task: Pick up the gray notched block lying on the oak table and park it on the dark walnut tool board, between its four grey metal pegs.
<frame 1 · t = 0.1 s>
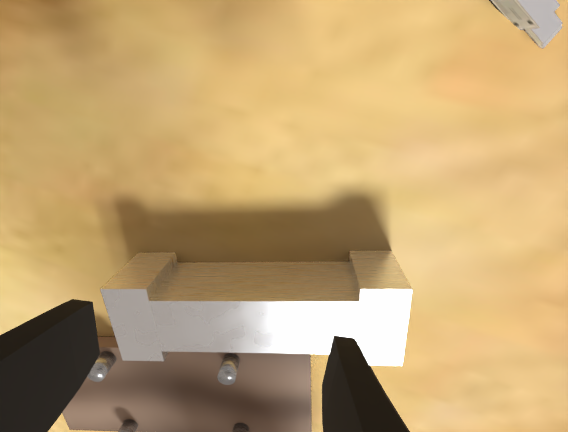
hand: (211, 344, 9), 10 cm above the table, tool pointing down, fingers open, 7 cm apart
gray notched block: (263, 284, 20), on the table
tool board: (182, 382, 24), on the table
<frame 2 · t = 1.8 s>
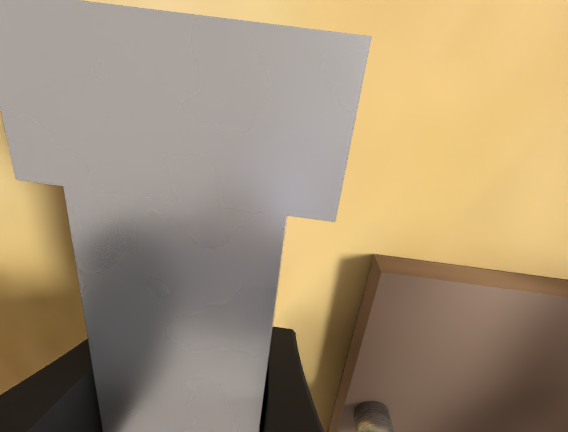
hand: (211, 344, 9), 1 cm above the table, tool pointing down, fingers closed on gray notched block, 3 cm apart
gray notched block: (223, 313, 11), on the table, touching gripper
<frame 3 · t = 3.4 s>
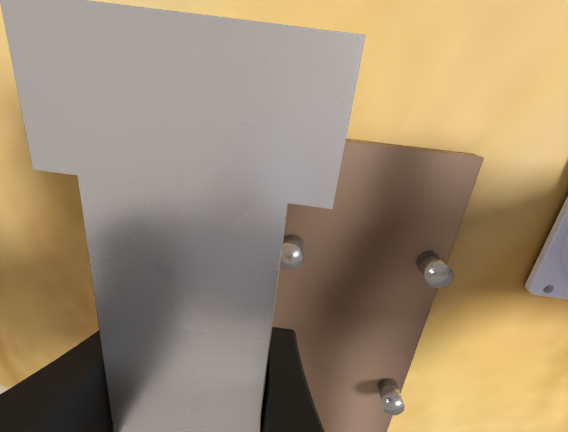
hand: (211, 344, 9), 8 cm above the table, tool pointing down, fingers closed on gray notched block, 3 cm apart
gray notched block: (225, 304, 11), point 7 cm above the table, touching gripper
tool board: (341, 310, 19), on the table
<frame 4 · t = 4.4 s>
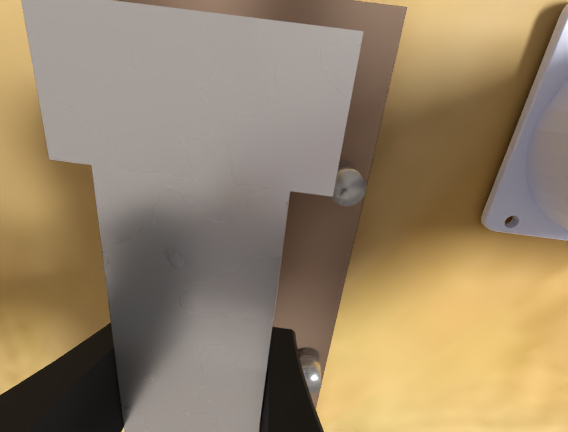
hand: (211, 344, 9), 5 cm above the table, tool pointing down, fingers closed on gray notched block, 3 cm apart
gray notched block: (228, 295, 11), point 3 cm above the table, touching gripper
tool board: (244, 255, 14), on the table
when the fingers open (4 cm above the table, at t = 4.9 s): gray notched block drops 1 cm, resting on tool board.
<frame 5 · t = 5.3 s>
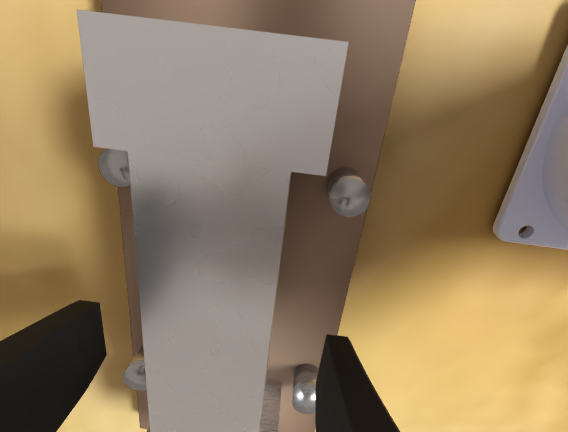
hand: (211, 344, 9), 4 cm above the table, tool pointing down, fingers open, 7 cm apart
gray notched block: (234, 276, 12), point 1 cm above the table, touching tool board
tool board: (240, 267, 13), on the table
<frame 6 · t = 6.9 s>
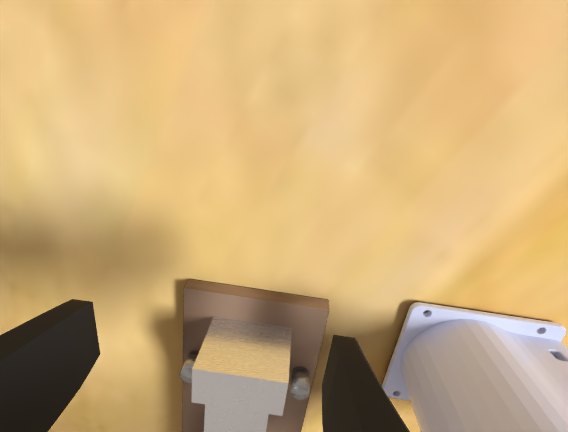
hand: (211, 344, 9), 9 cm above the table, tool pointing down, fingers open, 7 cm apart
gray notched block: (242, 408, 23), point 1 cm above the table, touching tool board
tool board: (245, 397, 24), on the table
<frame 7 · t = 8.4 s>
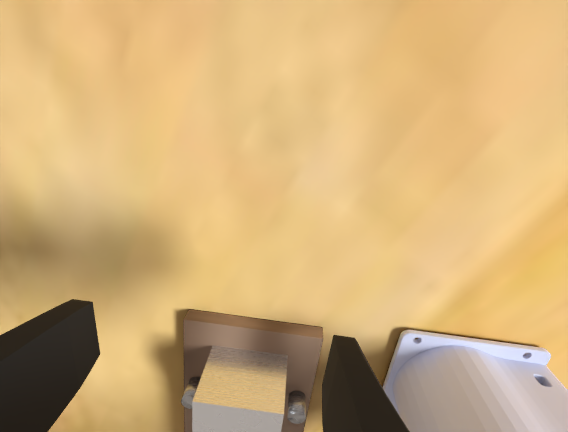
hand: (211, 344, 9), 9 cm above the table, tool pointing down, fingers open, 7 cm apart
gray notched block: (242, 429, 23), point 1 cm above the table, touching tool board
tool board: (245, 418, 24), on the table
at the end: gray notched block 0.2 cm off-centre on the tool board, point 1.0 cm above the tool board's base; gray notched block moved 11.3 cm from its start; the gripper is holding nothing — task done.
